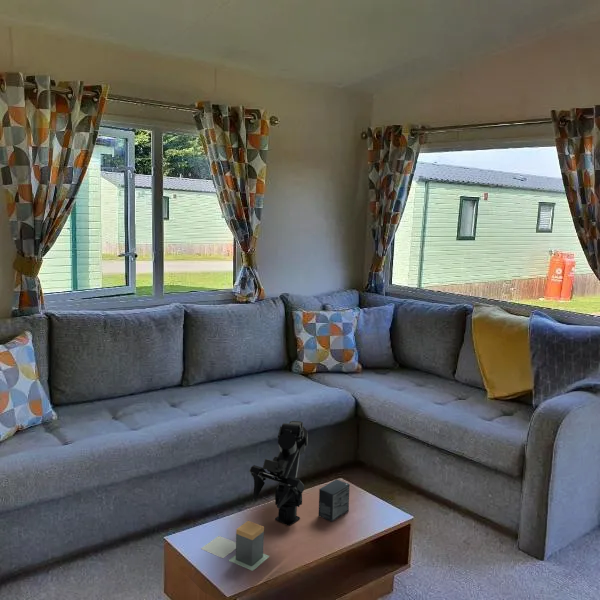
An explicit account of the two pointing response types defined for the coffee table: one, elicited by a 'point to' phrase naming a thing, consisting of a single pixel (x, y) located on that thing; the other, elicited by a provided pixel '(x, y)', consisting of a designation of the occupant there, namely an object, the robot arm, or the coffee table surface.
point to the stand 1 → (220, 547)
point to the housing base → (249, 549)
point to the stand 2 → (248, 565)
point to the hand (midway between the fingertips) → (265, 503)
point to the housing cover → (250, 530)
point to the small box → (334, 500)
